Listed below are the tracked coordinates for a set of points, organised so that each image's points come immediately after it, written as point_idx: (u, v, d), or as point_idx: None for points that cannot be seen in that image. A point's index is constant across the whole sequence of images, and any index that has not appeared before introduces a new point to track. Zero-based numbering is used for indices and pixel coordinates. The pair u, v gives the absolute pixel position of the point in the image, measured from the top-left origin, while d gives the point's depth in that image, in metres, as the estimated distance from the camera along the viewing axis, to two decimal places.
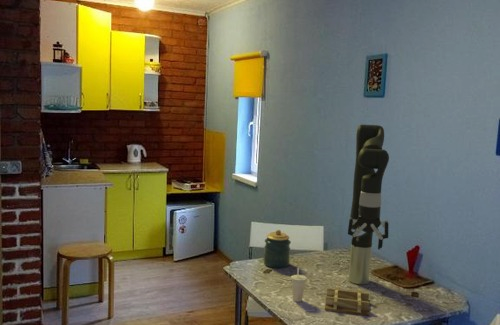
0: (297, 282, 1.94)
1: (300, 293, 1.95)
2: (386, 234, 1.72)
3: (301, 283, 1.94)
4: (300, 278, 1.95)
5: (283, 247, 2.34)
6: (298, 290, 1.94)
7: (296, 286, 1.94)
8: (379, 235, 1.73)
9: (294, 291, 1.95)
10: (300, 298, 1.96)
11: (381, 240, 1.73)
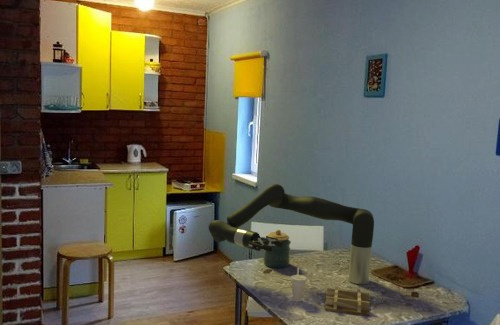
0: (297, 282, 1.94)
1: (300, 293, 1.95)
2: None
3: (301, 283, 1.94)
4: (300, 278, 1.95)
5: (283, 247, 2.34)
6: (298, 290, 1.94)
7: (296, 286, 1.94)
8: None
9: (294, 291, 1.95)
10: (300, 298, 1.96)
11: (264, 249, 2.00)
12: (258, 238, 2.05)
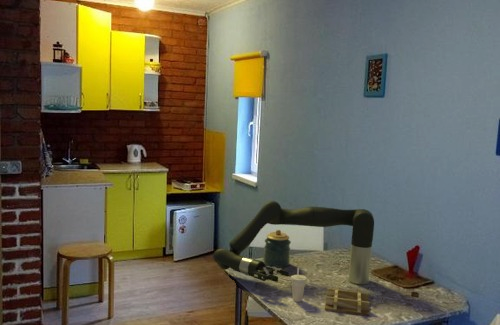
0: (297, 282, 1.94)
1: (300, 293, 1.95)
2: None
3: (301, 283, 1.94)
4: (300, 278, 1.95)
5: (283, 247, 2.34)
6: (298, 290, 1.94)
7: (296, 286, 1.94)
8: None
9: (294, 291, 1.95)
10: (300, 298, 1.96)
11: None
12: (263, 267, 2.05)
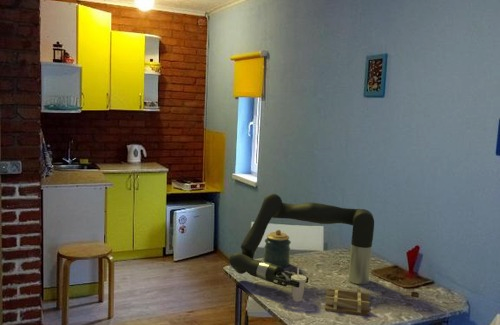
0: None
1: (300, 293, 1.95)
2: None
3: (301, 283, 1.94)
4: (300, 278, 1.95)
5: (283, 247, 2.34)
6: (298, 290, 1.94)
7: None
8: None
9: (294, 291, 1.95)
10: (300, 298, 1.96)
11: (290, 284, 1.94)
12: (282, 272, 1.99)
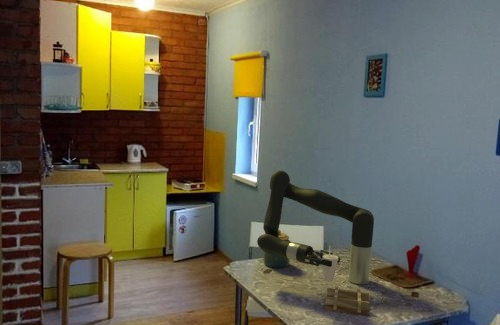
0: None
1: (332, 273, 1.93)
2: None
3: (333, 262, 1.91)
4: (332, 257, 1.93)
5: None
6: (330, 269, 1.92)
7: None
8: None
9: (326, 271, 1.93)
10: (332, 278, 1.93)
11: None
12: (313, 252, 1.97)
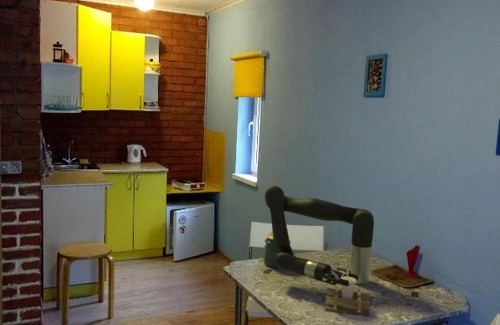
0: None
1: (350, 295, 1.93)
2: None
3: (351, 285, 1.92)
4: (350, 280, 1.93)
5: None
6: (348, 292, 1.92)
7: (346, 288, 1.92)
8: None
9: (344, 293, 1.93)
10: None
11: (339, 283, 1.91)
12: (331, 271, 1.97)
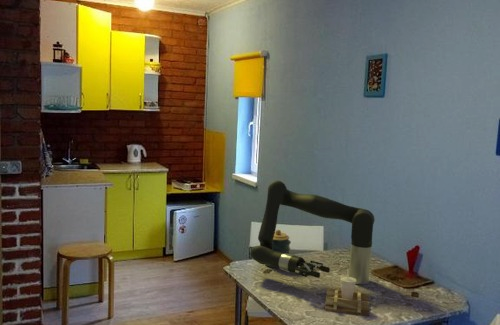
0: (347, 284, 1.92)
1: (350, 295, 1.93)
2: None
3: (351, 285, 1.92)
4: (350, 280, 1.93)
5: (283, 247, 2.34)
6: (348, 292, 1.92)
7: (346, 288, 1.92)
8: None
9: (344, 293, 1.93)
10: None
11: None
12: (304, 263, 2.05)
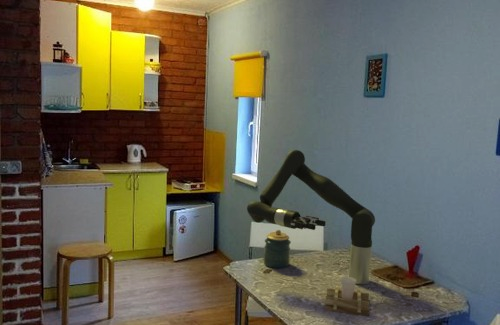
0: (347, 284, 1.92)
1: (350, 295, 1.93)
2: None
3: (351, 285, 1.92)
4: (350, 280, 1.93)
5: (283, 247, 2.34)
6: (348, 292, 1.92)
7: (346, 288, 1.92)
8: None
9: (344, 293, 1.93)
10: None
11: (307, 227, 1.99)
12: (299, 217, 2.04)
